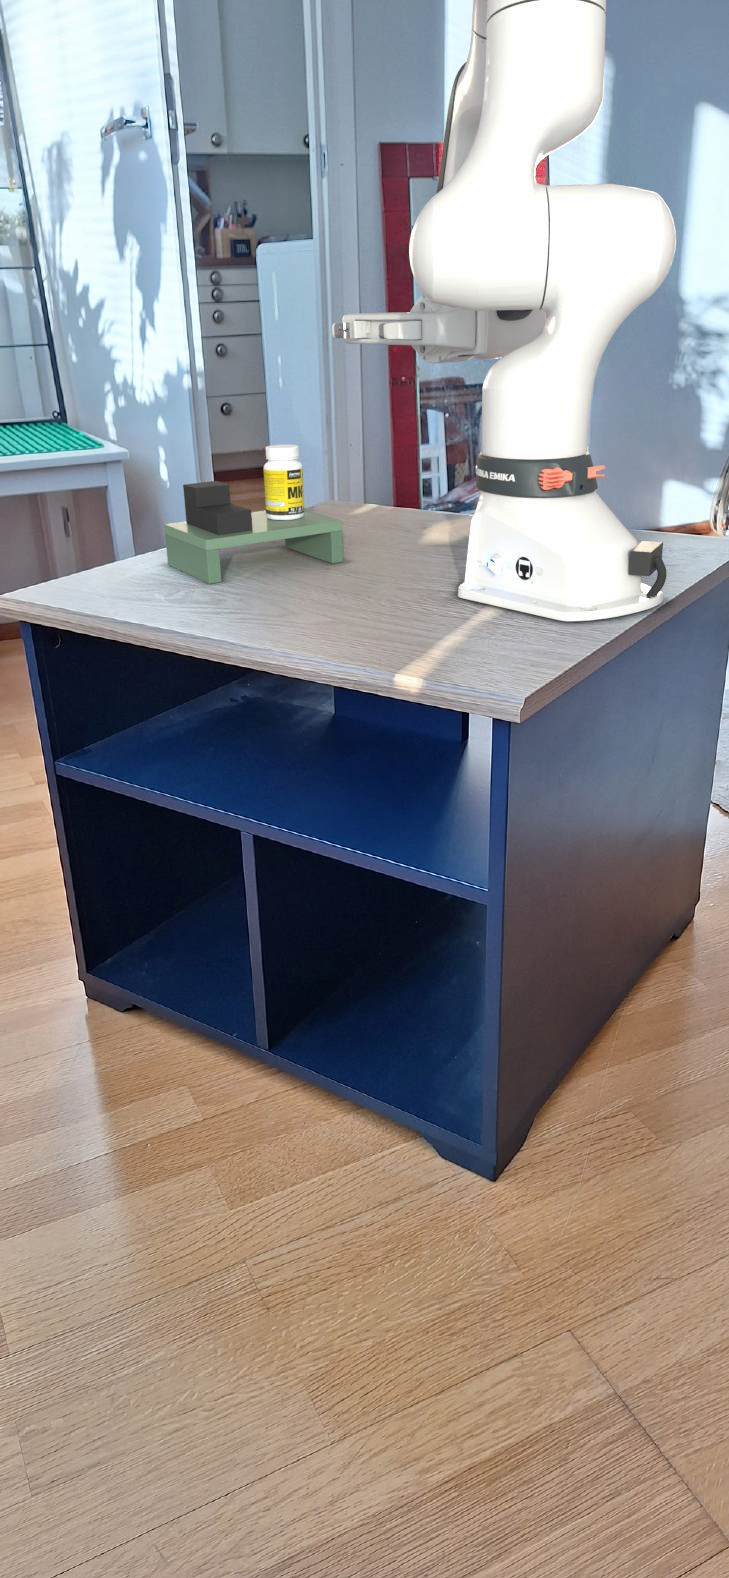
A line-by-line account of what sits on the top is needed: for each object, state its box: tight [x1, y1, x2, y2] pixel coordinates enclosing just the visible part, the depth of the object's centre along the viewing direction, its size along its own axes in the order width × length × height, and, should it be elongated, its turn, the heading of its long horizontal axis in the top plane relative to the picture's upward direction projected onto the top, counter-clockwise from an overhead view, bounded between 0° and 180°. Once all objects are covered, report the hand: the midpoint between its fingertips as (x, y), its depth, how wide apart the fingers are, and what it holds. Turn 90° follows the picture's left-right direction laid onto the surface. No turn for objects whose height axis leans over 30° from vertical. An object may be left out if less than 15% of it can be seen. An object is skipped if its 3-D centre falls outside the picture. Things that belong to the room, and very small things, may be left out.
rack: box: [163, 509, 344, 585], centre depth 135 cm, size 12×18×5 cm, turn 122°
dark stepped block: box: [182, 480, 252, 535], centre depth 131 cm, size 9×4×5 cm, turn 32°
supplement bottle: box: [263, 443, 305, 520], centre depth 135 cm, size 5×5×8 cm
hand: (358, 331), depth 137 cm, fingers open, 8 cm apart
